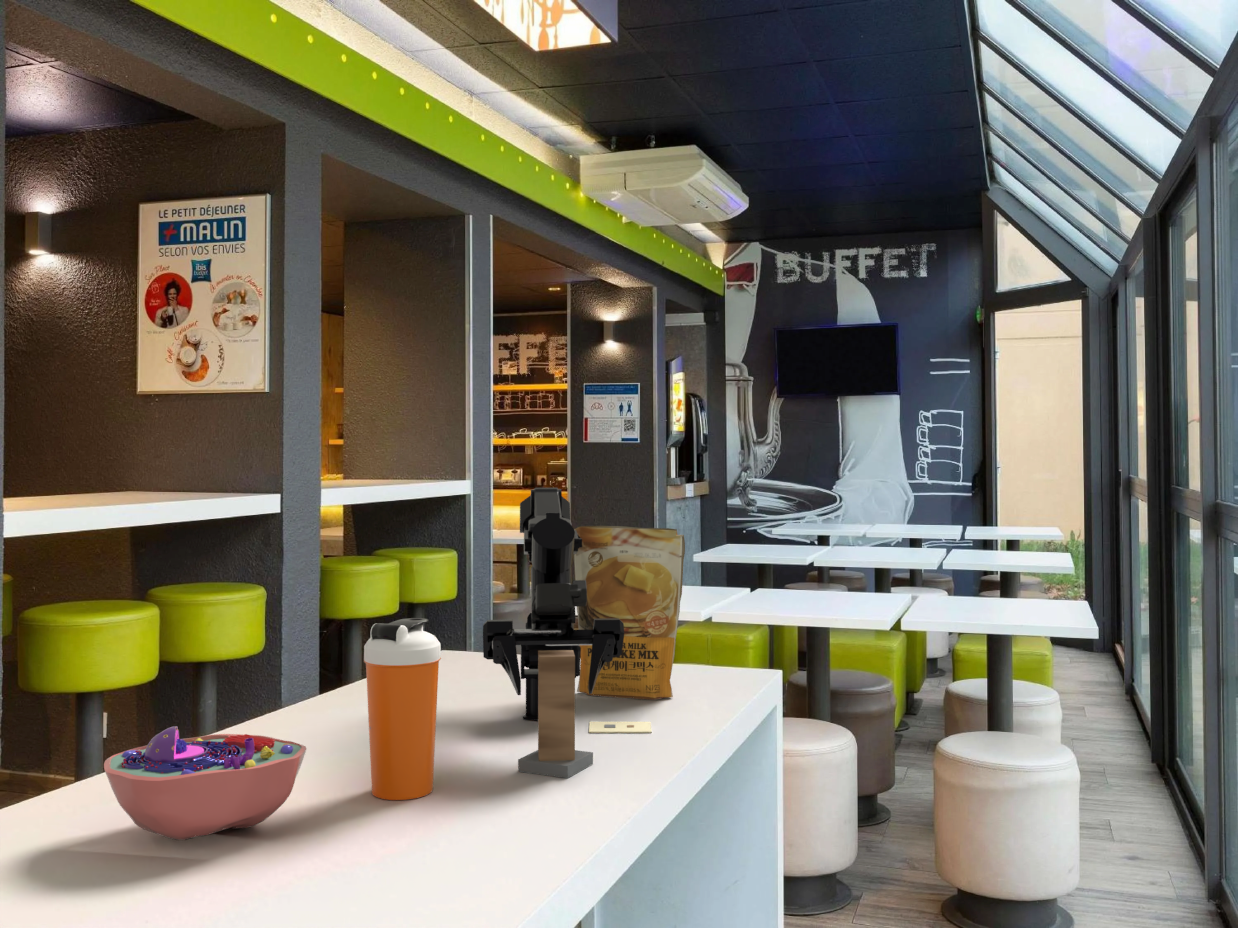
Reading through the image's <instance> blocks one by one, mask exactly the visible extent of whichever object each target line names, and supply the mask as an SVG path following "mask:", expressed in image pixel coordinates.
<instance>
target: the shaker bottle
mask: <svg viewBox="0 0 1238 928" xmlns="http://www.w3.org/2000/svg"><path fill="white" fill-rule="evenodd" d="M426 623H429V619H428V618H424V617H423V618H422V617H420V618H419V617H411V618H402V619H397V620H395V621H394V620H393V621H391V622H389V623H383V622H382V623H380V622H379V623H378V622H376V623H374V624H372V626H371V629H370V637H369V638H368V640H367V641H366V643H365V644H364V646H363V663H364V664H365V668H366V669H365V671H366V673H365V675H366V691H367V693H366V694H367V715H368V731H369V732H368V736H369V739H368V740H369V759H370V761H369V762H370V779H371V781H370V782H371V784H370V785H371V794H372V795H373V797H376V798H377V799H382V800H387V801H406V800H413V799H418V798H422V797H426V796H428V795H429V794H431V793H432V791H433V789H434V770H435V752H436V750H435V747H436V727H437V726H436V725H437V711H438V709H437V708H438V707H437V705H438V687H439V685H438V684H439V664H440V661H441V659H442V658H441V657H442V656H441V655H442V653H441V651H442V649H441V642H440V641H439V640H438V638H437V637H436V635H435V634H432V633H430V632H428V631H425V630H424V624H426Z"/></svg>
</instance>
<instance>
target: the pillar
mask: <svg viewBox="0 0 1238 928" xmlns="http://www.w3.org/2000/svg"><path fill="white" fill-rule="evenodd" d="M537 729H538V730H537V750H538V757H539V761H561V760H575V750H576V732H575V731H576V678H575V655H574V651H573V650H547V651H538V720H537Z"/></svg>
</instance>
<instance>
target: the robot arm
mask: <svg viewBox="0 0 1238 928" xmlns="http://www.w3.org/2000/svg"><path fill="white" fill-rule="evenodd" d="M562 493H563V491H562V489H560V488H558V487H535V488H533V489H531V488H530V495H529V496H528V497H526V498H524V500H522V501H520V503H519V533H520V534H523V555H528V561H529V562H530V563H531V564H532V565H531V569H530V586H531V587H530V591H531V592H530V593H531V594H530V595H531V596H530V598H531V602H530V603H531V605H530V606H531V607H530V608H531V612H530V613H529V614H528V616H527V620H526V623H525V628H517V629H516V628H513V624H514V622H513V619H487V620H485V622H484V623H483V625H482V650H483V651H482V652H483V653H482V655H483V658H484V659H486V660H492V662H493V664H496V665H500V666H501V667H502V668H503V670H504V671H505V672H506V674H507V676H508V678H509V679H510V682H511V684H512V686H513V689H514V690H515V692H516V695H517V696H521V695H522V694H521V693H522V683H521V682H522V681H521V680H525V713H524V714H523V715H522V720H523V721H524V720H525V721H526V720H527V721H528V720H529V721H538V651H547V650H573V651H574V655H575V679H576V678H577V677H580V662H581V658H580V656H581V647H580V646H579V645H592V653H591V662H590V672H589V682H588V690H589V694H592V692H593V689H594V686H595V683H596V680H597V677H598V674H599V672H600V671H601V669H602V667H603V665H604V663H605V662H611V661H612V660H613V657H619V656H621V655H622V648H623V640H624V624H623V622H622V621H621V620H620V619H619V618H599V619H594V624H593V629H586V630H579V629H575V623H576V618H577V617H576V607H577V606H586V603H587V586H586V580H575V579H574V580H573V579H572V566H573V565H574V560H573V554H577V552H578V549H579V548H580V547H582V539H581V538H580V537H579V536H578V534H577V531H576V530H574V529H575V528H574V527H573V525H572V521H571V502H569V500H568V499H566V498H565V497H564V496H563V495H562ZM517 646H520V667H519V659H518V654H517V651H518V650H517Z"/></svg>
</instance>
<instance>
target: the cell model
mask: <svg viewBox="0 0 1238 928" xmlns="http://www.w3.org/2000/svg"><path fill="white" fill-rule="evenodd" d="M306 752H307V747H306V745H303V744H300V743H297V742H294V741H291V740H290V741H289V740H285V739H284V740H283V739H279V738H276V737H272V736H266V735H258V734H257V735H256V734H247V733H245V734H240V733H239V734H238V733H218V734H209V735H208V734H207V735H202V736H201V735H200V736H195V737H189V738H188V737H187V738H180V731H179V729H178V726H177V725H176V726H171V727H167V728H166V729H164V730H162V731H161V732H159V733H157V734H155V735H154V736H153V737H152V738H151V739H150V740H149V742H148V744H147V745H143V746H137V747H134V748H131V749H128V750H124V751H122V752H119V753H115V754H113V755H111V756H110V757H108V758H106V759H105V761H104V763H103V768H104V772H105V775H106V777H107V779H108V782H109V784H110V787H111V791H112V792H113V794H114V797H115V799H116V800H117V803H118V805H119V806H120V808H121V809H122V810H123V811H124V812H125V813H126V815H128V816H129V818H130V819H131V820H132V821H133V823H134V824H135V825H136V826H137V827H138V828H140V829H142V830H144V831H147V832H151V833H153V834H157V835H159V836H161V837H164V838H168V839H170V840H175V841H187V840H191V839H193V838H196V837H203V836H208V835H212V834H215V833H218V832H221V831H224V830H230V829H246V828H250V827H254V826H256V825H259V824H261V823H262V822H264V821H266V820H267V819H268V818H269V817H271V816H272V815H273V814H274V813H275V812H276V811H277V810H279V808H280V807H282V806H283V804H285V802H286V801H287V799H288V798H289V797H290V795H291V793H292V792H293V788H294V785H295V782H296V778H297V776H298V774H299V771H300V769H301V766H302V764H303V760H304V758H305V755H306Z"/></svg>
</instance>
